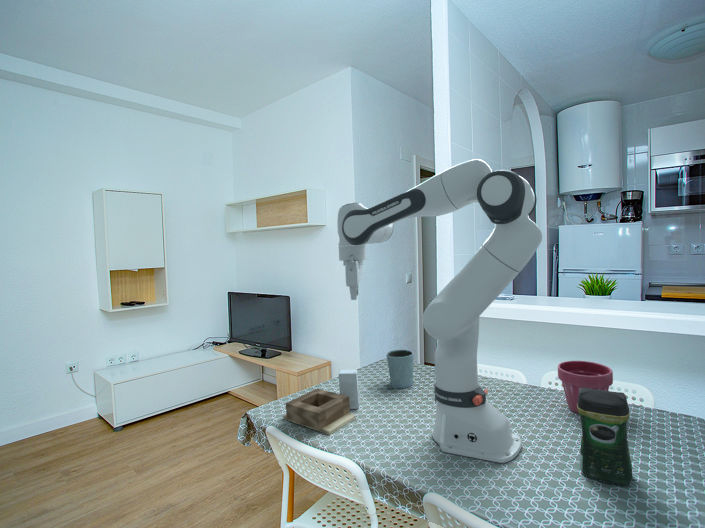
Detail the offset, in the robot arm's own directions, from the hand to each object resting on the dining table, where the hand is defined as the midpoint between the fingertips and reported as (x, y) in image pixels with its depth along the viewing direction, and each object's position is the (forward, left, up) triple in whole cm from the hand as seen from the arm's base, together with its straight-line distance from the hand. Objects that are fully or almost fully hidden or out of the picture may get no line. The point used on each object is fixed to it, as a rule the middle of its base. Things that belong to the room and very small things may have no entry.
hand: (354, 297), depth 123 cm
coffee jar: (-67, -1, -37) cm, 76 cm away
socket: (+7, +12, -37) cm, 39 cm away
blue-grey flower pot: (0, -26, -37) cm, 45 cm away
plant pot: (-59, -35, -37) cm, 77 cm away
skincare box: (+4, 0, -37) cm, 37 cm away
